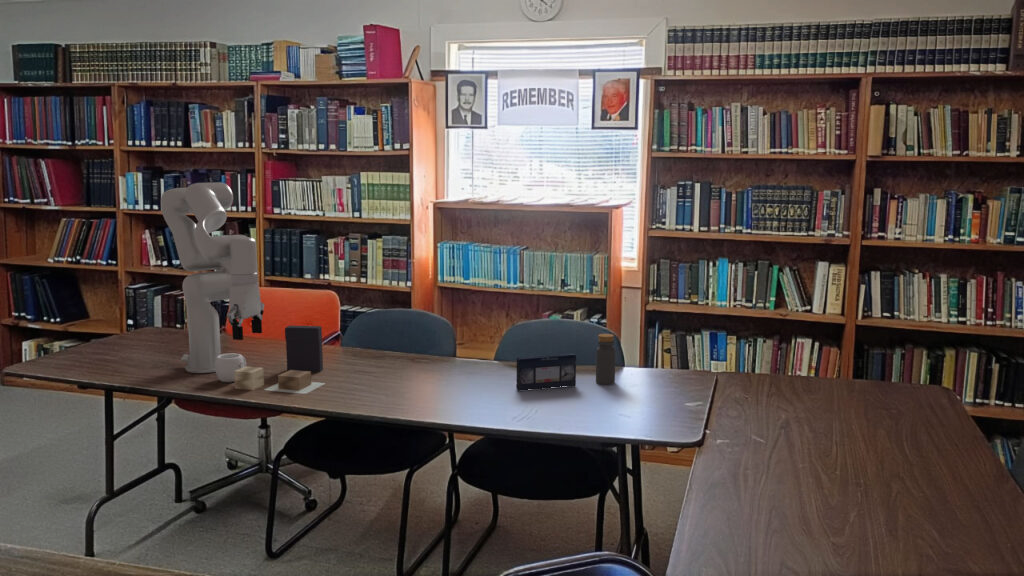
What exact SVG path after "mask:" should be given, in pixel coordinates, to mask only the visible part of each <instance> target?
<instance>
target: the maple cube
mask: <svg viewBox="0 0 1024 576" xmlns="http://www.w3.org/2000/svg"><path fill="white" fill-rule="evenodd" d="M234 373H235V382H234V387H235V388H234V389H236V390H247V391H255V390H256V389H258V388H260V387H263V386H264V385H265V375H264V367H258V366H257V367H256V366H247V365H246V367H243V368H241V369H238V370H236V371H234Z"/></svg>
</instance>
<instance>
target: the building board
mask: <svg viewBox="0 0 1024 576" xmlns="http://www.w3.org/2000/svg"><path fill="white" fill-rule="evenodd" d="M325 384H326V382H318V381H317V382H316V381H311V385H309V386H307V387H305V388H303V389H301V390H300V391H299V390H288V389H279V388H278V382H277V383H276V384H273V385H271V386H269V387H267V388H265V389H263V391H271V392H281V393H282V392H283V393H290V394H302V395H303V394H304V395H306V394H309V393H310V392H312V391H314V390H316V389H318V388H320V387H322V386H324V385H325Z"/></svg>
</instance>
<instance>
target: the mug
mask: <svg viewBox="0 0 1024 576" xmlns="http://www.w3.org/2000/svg"><path fill="white" fill-rule="evenodd" d="M246 366H247V361H246V358H245V357H244V356H243V355H242V354H240V353H232V352H230V353H221V355H219V356H217V357H216V359H215V370H216V372H215V373H216V376H217V379H218V380H219V381H220V382H221V383H235V373H234V371H236V370H238V369H241V368H243V367H246Z"/></svg>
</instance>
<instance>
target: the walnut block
mask: <svg viewBox="0 0 1024 576" xmlns="http://www.w3.org/2000/svg"><path fill="white" fill-rule="evenodd" d="M311 382H312V372H310V371H298V370H289V371H287V370H286V371H285V372H283V373H281V374H278V375H277V383H278V388H279V389H288V390H299V391H300V390H301V389H303V388H305V387H307V386H309V385H311Z"/></svg>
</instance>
